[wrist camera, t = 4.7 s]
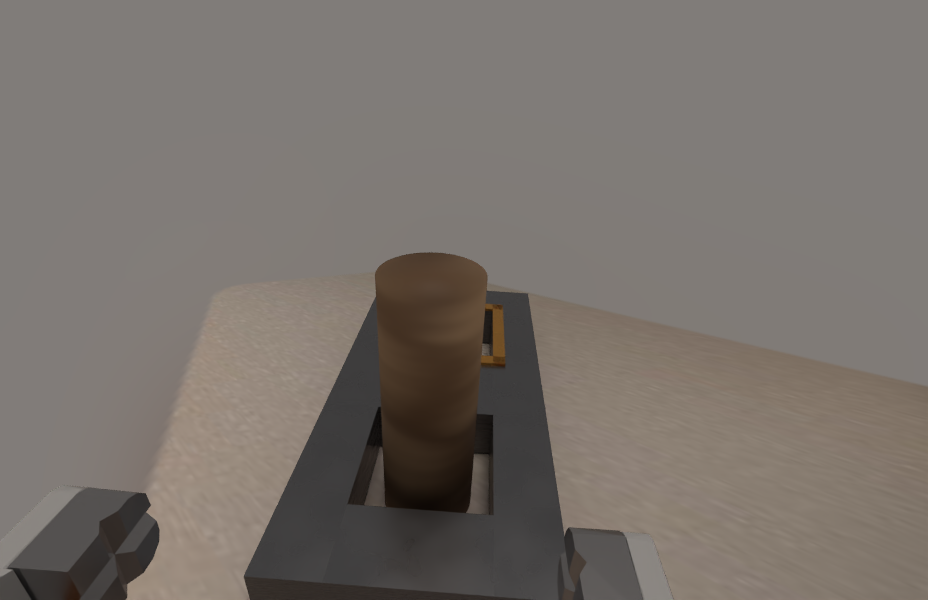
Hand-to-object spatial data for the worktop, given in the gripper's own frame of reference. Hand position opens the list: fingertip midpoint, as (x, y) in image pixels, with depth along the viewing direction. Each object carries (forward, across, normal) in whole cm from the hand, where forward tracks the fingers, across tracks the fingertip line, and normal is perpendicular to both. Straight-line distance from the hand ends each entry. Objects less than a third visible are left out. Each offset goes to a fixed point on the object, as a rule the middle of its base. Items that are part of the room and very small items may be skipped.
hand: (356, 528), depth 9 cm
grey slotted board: (+17, 0, +12) cm, 21 cm away
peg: (+11, 0, +13) cm, 17 cm away
